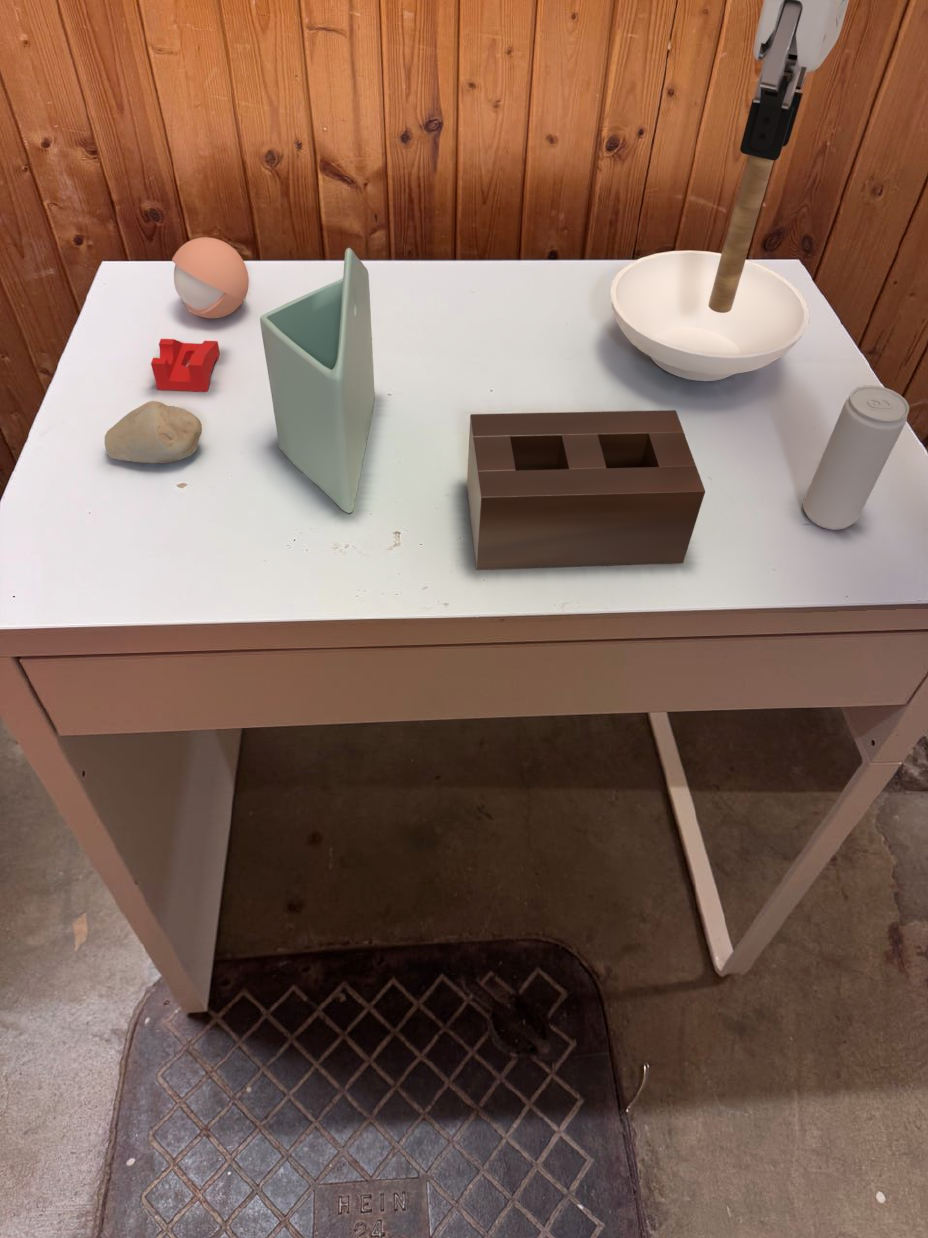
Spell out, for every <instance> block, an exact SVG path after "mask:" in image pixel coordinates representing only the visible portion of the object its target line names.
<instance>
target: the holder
mask: <svg viewBox="0 0 928 1238" xmlns="http://www.w3.org/2000/svg"><path fill="white" fill-rule="evenodd" d="M467 455H468V457H467V475H466V476H467V478H466V492H467V500H468V508H469V517H470V525H471V534H472V542H473V553H474V561H475V568H476V570H477V571H478V570H503V569H504V570H506V569H507V570H508V569H509V570H510V569H535V568H537V569H538V568H566V567H570V568H571V567H599V566H627V565H629V566H630V565H661V564H663V565H664V564H683V563H684V561H685V558H686V555H687V552H688V549H689V545H690V542H691V539H692V536H693V533H694V529H695V527H696V523H697V519H698V516H699V514H700V510H701V507H702V504H703V501H704V497H705V495H706V490H705V487H704V483H703V481H702V478H701V475H700V473H699V470H698V467H697V465H696V462H695V459H694V456H693V453H692V450H691V448H690V445H689V442H688V440H687V437H686V434H685V432H684V429H683V426H682V423H681V421H680V418H679V415H678V412H677V410H675V409H667V410H666V409H665V410H664V409H663V410H662V409H661V410H616V411H610V410H609V411H566V412H565V411H563V412H561V411H560V412H557V411H555V412H520V413H519V412H511V413H510V412H509V413H471V414H470V415H469V435H468V454H467Z"/></svg>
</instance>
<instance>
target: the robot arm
mask: <svg viewBox="0 0 928 1238" xmlns="http://www.w3.org/2000/svg"><path fill="white" fill-rule="evenodd" d="M849 3H850V0H763V2H762V6H761V10H760V14H759V15H760V16H759V20H758V24H757V28H756V33H755V37H754V42H753V48H752V55H753V57H754V59H755V60H756V61H757V63H761V61H762V66H761V70H760V72H759V73H760V74H759V78H758V81H757V84H756V88H755V93H754V96H753V98H752V99H751V105H750V107H749V112H748V115H747V118H746V123H745V126H744V127H745V128H744V132H743V135H742V138H741V143H740V147H739V151H740V153H742V154H743V155H746V156H747V155H751V156H756V157H760V158H764V159H769V160H773V161H774V162H775V161H777V160H778V159H779V158H780V156H781V154H782V150H783V148H785V147H786V146H787V145H788V144H789V142H790V139H791V135H792V133H793V129H794V125H795V122H796V118H797V116H798V112H799V108H800V105H801V101H802V98H803V95H804V93H803V92H802V90H803V88H804V85H805V82H806V79H807V75H808V73H810V74H812V73H813V72H815V71H816V70H818V68H820V67H821V66H822V64H823V63H824V61H825V60H826V58H827V57H828V55H829V54H830V52H831V51H832V49H833V48H834V46H835V45H836V43H837V41H838V39H839V37H840V35H841V32H842V28H843V24H844V21H845V17H846V13H847V10H848V6H849ZM784 72H787V73H791V74H790V78H789V81H788V76H784Z"/></svg>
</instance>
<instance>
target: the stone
mask: <svg viewBox="0 0 928 1238" xmlns="http://www.w3.org/2000/svg"><path fill="white" fill-rule="evenodd" d="M202 431H203V427H202V422H201V420H200V419H199V417H198V416H197V415H196V414H194V413H193V412H191V411H189V410H187V409H185V408H182V407H180V406H174V405H168V404H166V403H163V402H162V401H157V400H150V401H147V402H146V403H144V404H142V405H139V406H138V407H136V408H135V409H133V410H131V411H130V412H128V413H127V414H126V415H124V416H123V417H122V418H121V419H119V421H118V422H117V423H115V424H113V426H112V427H110V428H109V429H108V430H107V431H106V433H105V434H104V448H105V452H106V454H107V455H108V456H109V457H110V458H111V459H113V460H118V461H127V462H132V463H143V464H167V463H173V462H178V461H180V460H181V461H182V460H183V459H185V458H188V457H190V456H192V455H193V454H194V453H196V451H197V449H198V446H199V442H200V438H201V436H202Z"/></svg>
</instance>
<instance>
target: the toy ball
mask: <svg viewBox="0 0 928 1238" xmlns="http://www.w3.org/2000/svg"><path fill="white" fill-rule="evenodd" d="M171 261H172V262H173V263H174V264H175V265H174V267H173V285H174V289H175V291H176V294H177V295H178V297H179V298H180V299H181V300H182V301H183V304H184V306H185V308H186V309H187V310H188V311H189V312H190V313H192V314H194V315H196V316H199V317H201V318H205V319H221V318H224V317H227V316H229V315H231V314H233V313H234V312H235V311H237V310H238V309H239V308H240V307H241V306H242V304H243V302H244V300H246V298H247V295H248V292H249V286H250V278H249V272H248V268H247V266H246V263H245V261H244V260H243V258H242V256H241V255H240V254H239V253H238V251H237V250H236V249H235V248H234V247H233V246H231V245H230V244H228V243H227V242H225V241H223V240H221V239H218V238H214V237H209V236H208V237H205V236H203V237H197V238H194V239H191V240H189V241H187V242H185V243H184V244H183V245H181V246H180V247H179V248H178V250H176V252H175V253H174V255H173V257H172V259H171Z"/></svg>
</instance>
